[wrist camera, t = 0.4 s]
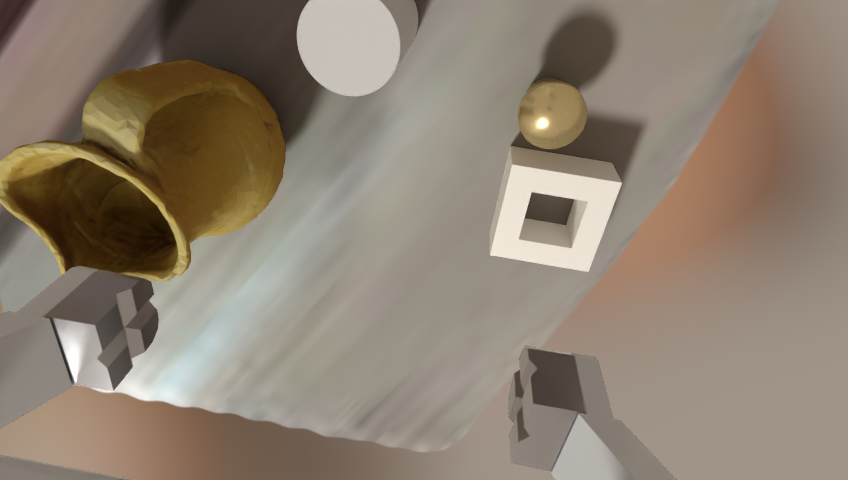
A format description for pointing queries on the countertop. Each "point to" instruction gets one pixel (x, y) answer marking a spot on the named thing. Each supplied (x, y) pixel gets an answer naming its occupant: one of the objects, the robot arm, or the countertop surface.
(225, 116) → the pitcher
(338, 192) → the countertop surface
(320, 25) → the white cylinder
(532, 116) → the brass dome knob
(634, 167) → the countertop surface
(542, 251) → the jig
